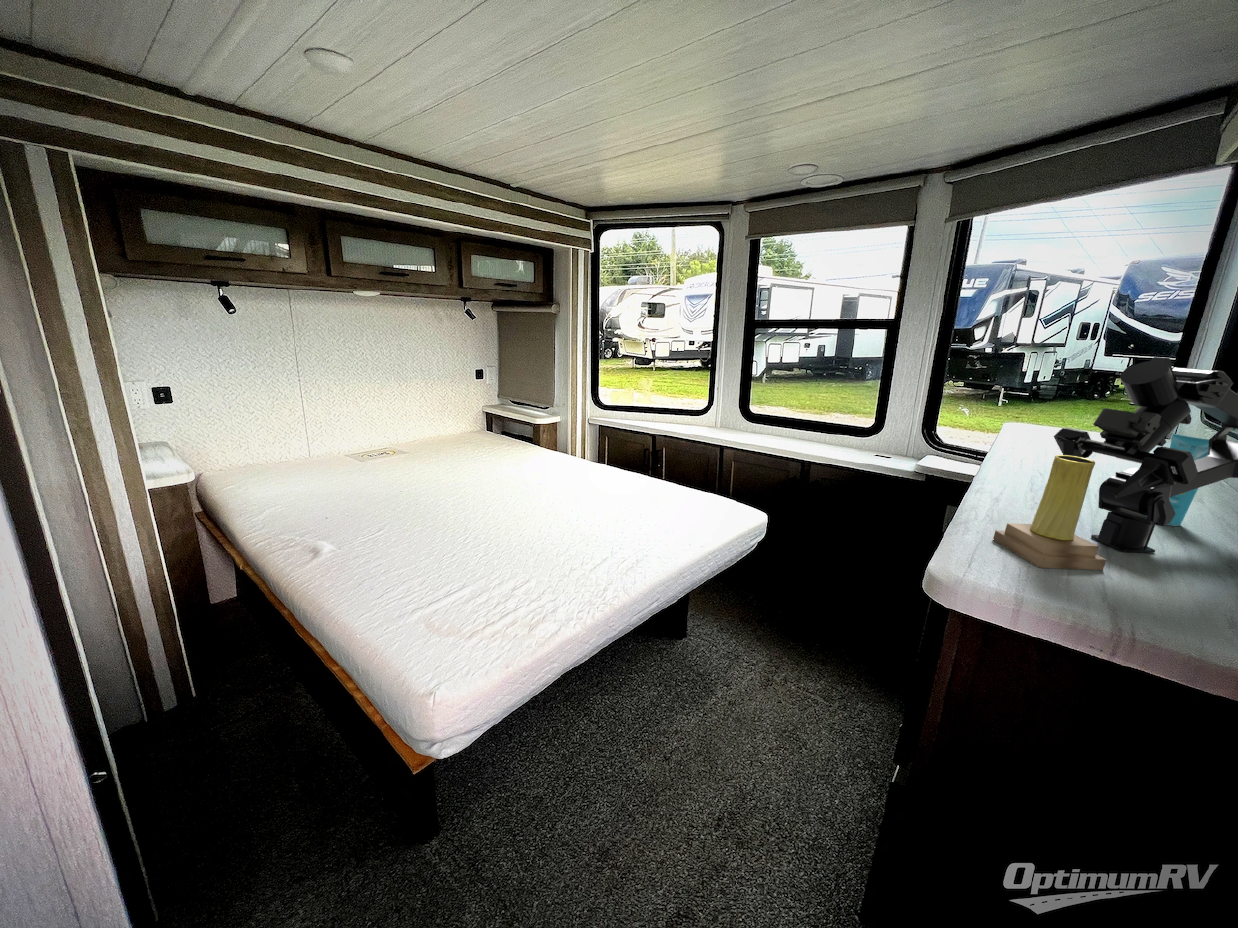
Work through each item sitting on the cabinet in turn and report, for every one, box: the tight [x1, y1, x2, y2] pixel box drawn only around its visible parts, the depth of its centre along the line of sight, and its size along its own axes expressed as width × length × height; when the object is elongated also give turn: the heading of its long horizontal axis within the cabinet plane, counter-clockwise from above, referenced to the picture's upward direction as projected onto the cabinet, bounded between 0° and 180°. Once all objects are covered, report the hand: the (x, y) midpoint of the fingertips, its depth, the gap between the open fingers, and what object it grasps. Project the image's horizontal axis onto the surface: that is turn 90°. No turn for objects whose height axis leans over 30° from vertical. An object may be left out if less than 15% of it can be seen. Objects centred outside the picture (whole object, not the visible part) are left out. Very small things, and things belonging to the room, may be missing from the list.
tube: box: [1166, 433, 1210, 527], centre depth 102 cm, size 7×5×19 cm, turn 23°
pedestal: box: [992, 522, 1107, 571], centre depth 88 cm, size 11×11×4 cm
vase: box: [1030, 454, 1096, 541], centre depth 85 cm, size 6×6×14 cm
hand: (1084, 487), depth 86 cm, fingers open, 9 cm apart
